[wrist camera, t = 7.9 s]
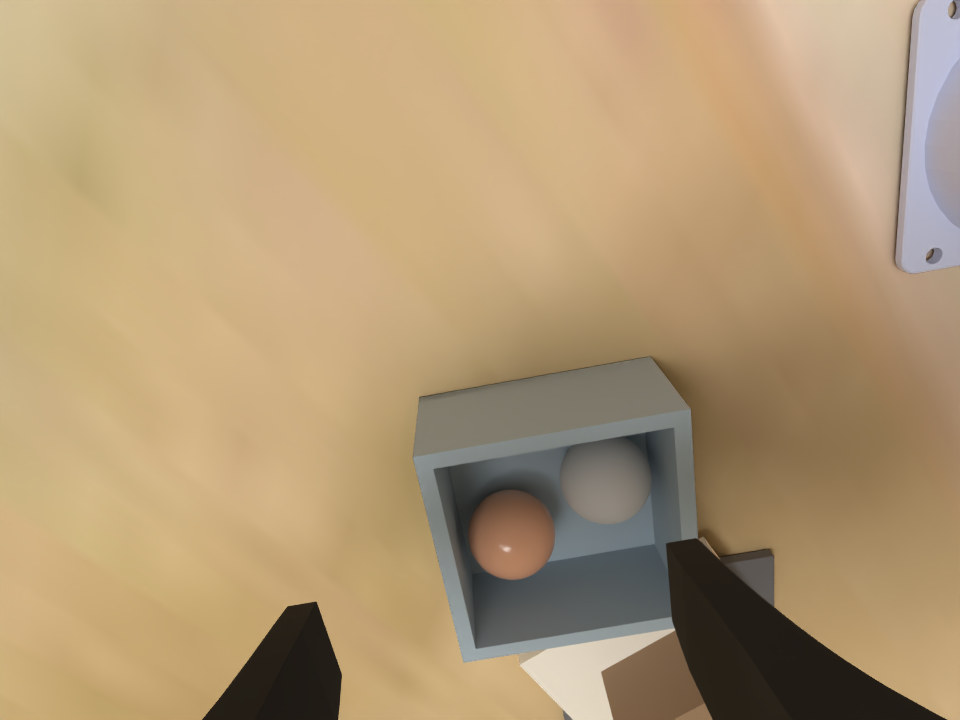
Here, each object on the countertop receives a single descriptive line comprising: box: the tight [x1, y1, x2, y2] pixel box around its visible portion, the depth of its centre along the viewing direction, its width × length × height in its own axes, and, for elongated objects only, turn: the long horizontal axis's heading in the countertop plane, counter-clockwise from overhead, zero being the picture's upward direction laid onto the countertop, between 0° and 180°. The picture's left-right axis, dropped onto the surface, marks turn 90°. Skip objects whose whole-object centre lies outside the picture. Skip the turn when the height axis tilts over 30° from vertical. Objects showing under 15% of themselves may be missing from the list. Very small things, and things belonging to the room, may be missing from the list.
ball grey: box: [560, 436, 652, 524], centre depth 21 cm, size 3×3×3 cm
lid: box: [518, 537, 720, 720], centre depth 25 cm, size 9×9×4 cm
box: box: [413, 357, 698, 663], centre depth 22 cm, size 8×8×4 cm
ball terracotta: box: [468, 489, 556, 580], centre depth 22 cm, size 3×3×3 cm
